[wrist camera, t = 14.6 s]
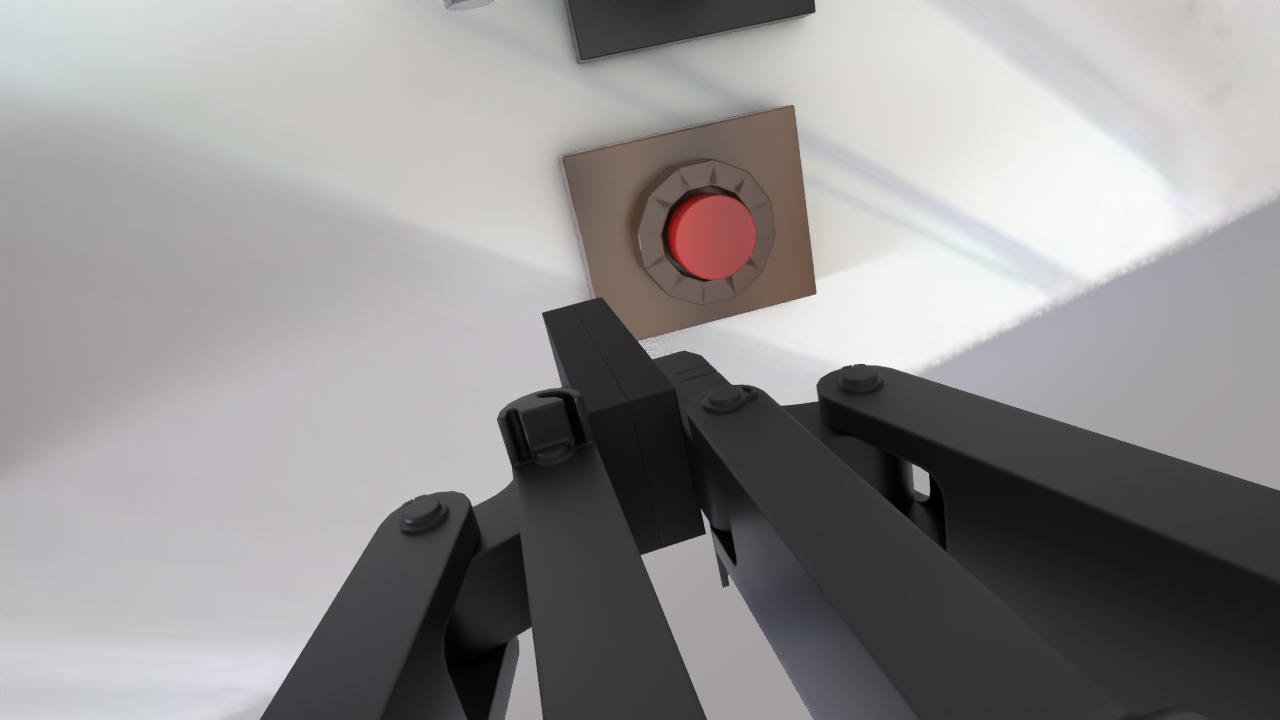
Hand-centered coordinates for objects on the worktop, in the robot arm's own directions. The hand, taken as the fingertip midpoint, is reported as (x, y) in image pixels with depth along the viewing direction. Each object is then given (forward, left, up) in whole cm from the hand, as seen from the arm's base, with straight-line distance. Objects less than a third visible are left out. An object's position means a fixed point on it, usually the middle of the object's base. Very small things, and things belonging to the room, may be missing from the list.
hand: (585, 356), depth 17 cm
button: (+8, -1, -17) cm, 19 cm away
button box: (+8, -1, -21) cm, 22 cm away
